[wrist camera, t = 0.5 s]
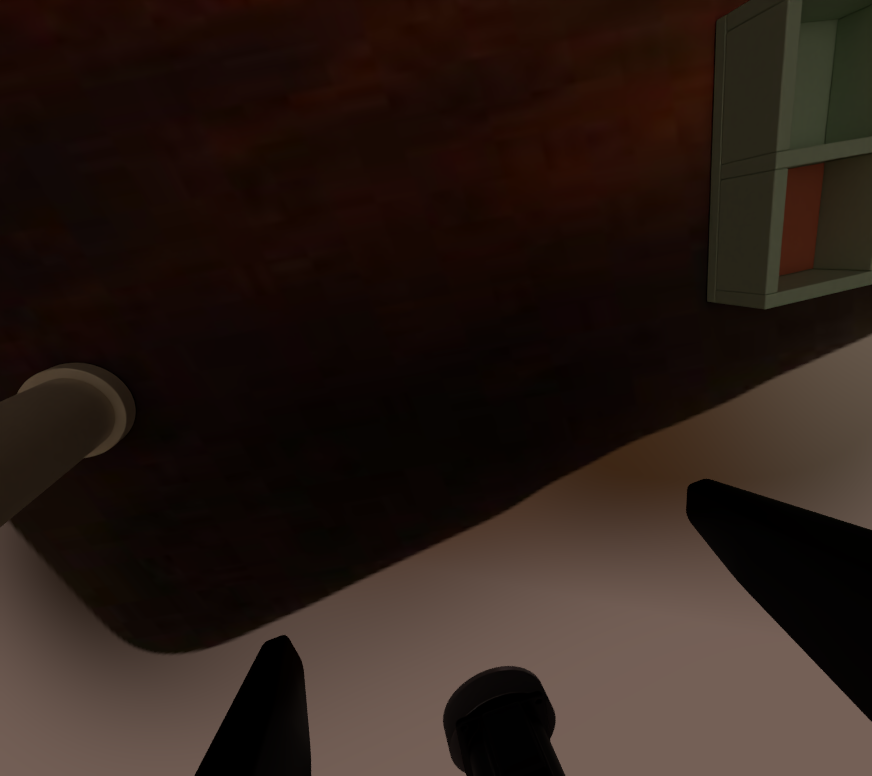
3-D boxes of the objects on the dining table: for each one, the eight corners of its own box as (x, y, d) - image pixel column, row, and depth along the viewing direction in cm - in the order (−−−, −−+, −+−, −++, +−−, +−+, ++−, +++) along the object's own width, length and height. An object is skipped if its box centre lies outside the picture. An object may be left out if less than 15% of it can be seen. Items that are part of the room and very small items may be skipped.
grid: (893, 259, 27) (974, 260, 23) (706, 301, 25) (765, 309, 21) (937, -5, 22) (1044, -50, 19) (715, 20, 20) (790, -25, 17)
